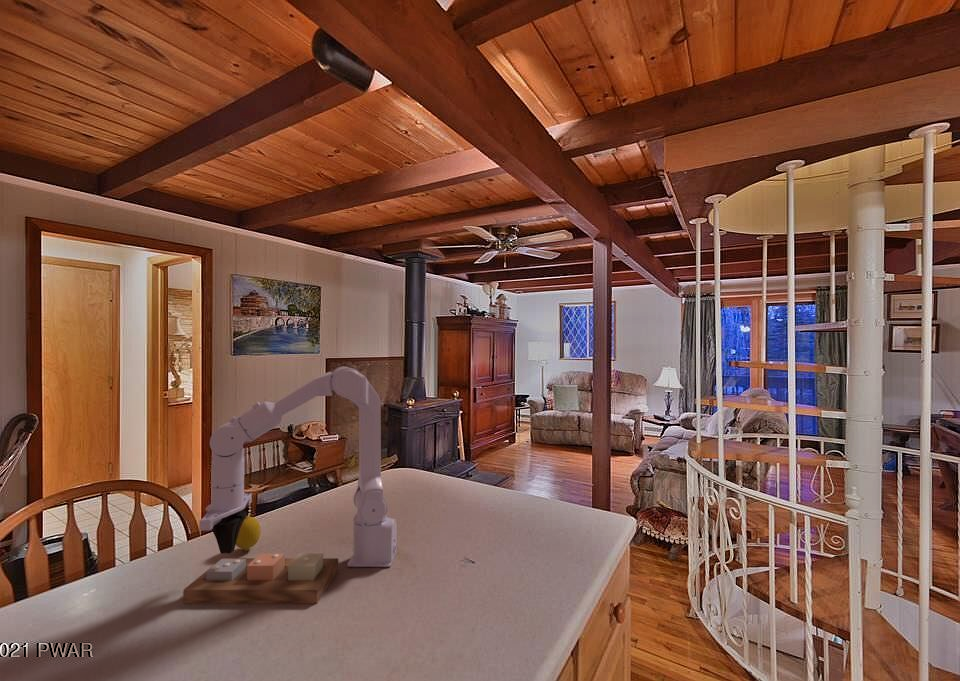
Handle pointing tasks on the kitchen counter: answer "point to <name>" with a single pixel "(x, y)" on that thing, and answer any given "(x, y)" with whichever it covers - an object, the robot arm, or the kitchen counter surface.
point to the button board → (261, 587)
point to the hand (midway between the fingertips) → (227, 551)
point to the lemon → (248, 533)
